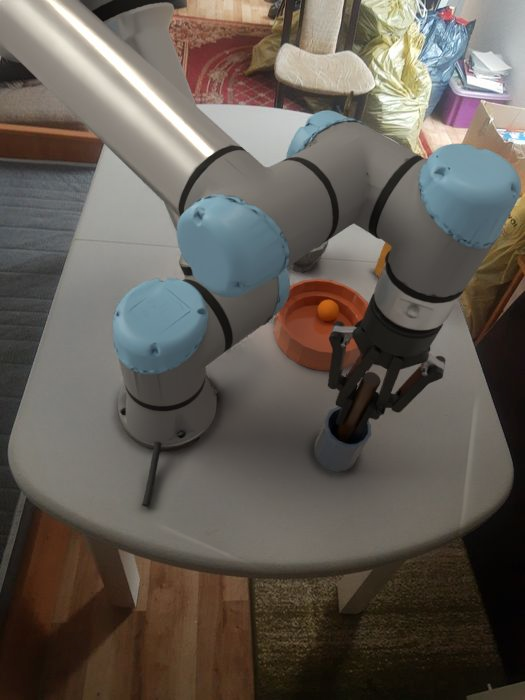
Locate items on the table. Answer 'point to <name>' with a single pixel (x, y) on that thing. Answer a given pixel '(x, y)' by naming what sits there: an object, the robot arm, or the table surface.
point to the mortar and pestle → (309, 258)
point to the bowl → (316, 322)
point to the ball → (328, 310)
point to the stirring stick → (358, 406)
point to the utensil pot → (338, 444)
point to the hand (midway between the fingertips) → (350, 420)
